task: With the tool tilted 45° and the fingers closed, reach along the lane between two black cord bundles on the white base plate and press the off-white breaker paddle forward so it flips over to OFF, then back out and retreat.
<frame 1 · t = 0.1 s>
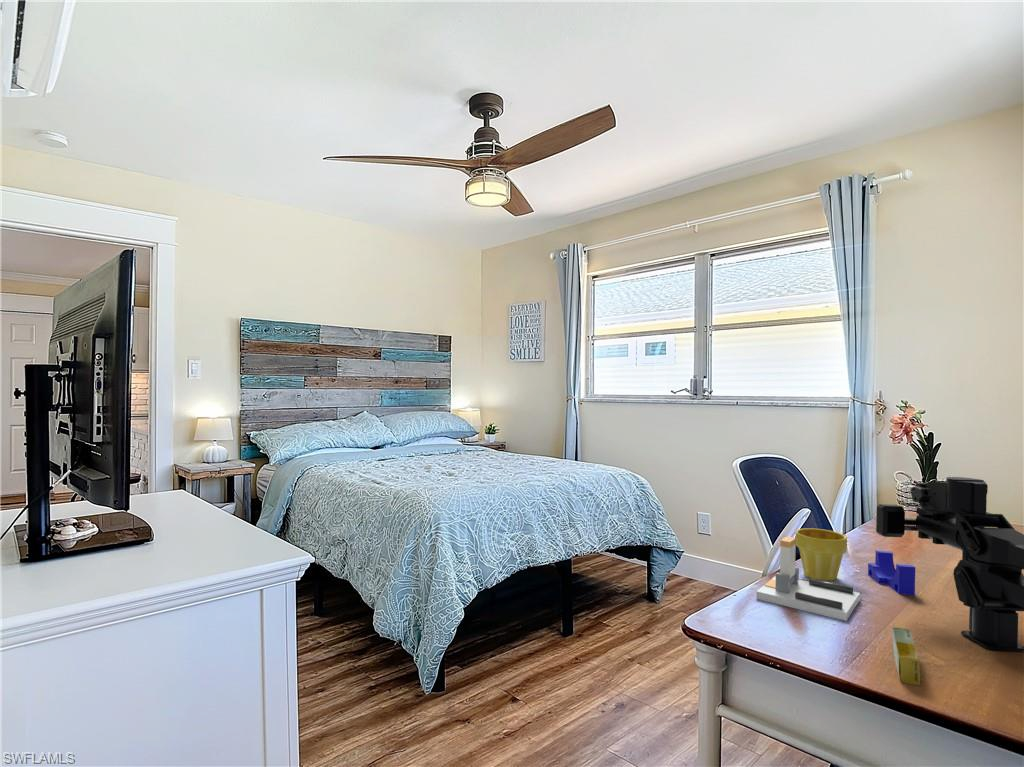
hand: (900, 513, 124), 17 cm above the table, tool horizontal, fingers open, 9 cm apart
plant pot: (820, 577, 132), on the table
cable clip: (890, 586, 127), on the table
medication box: (904, 669, 89), on the table
white base plate: (808, 599, 117), on the table
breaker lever: (787, 561, 119), point 7 cm above the table, hinge at 0.0°
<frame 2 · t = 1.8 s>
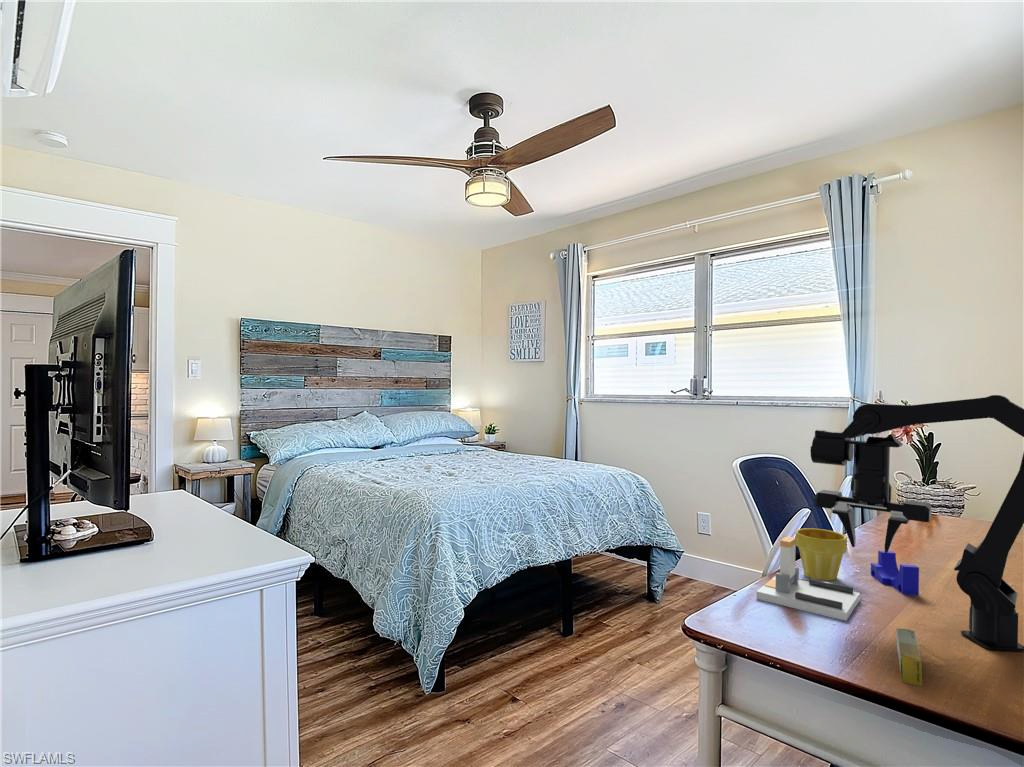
hand: (869, 549, 111), 12 cm above the table, tool pointing down, fingers open, 5 cm apart
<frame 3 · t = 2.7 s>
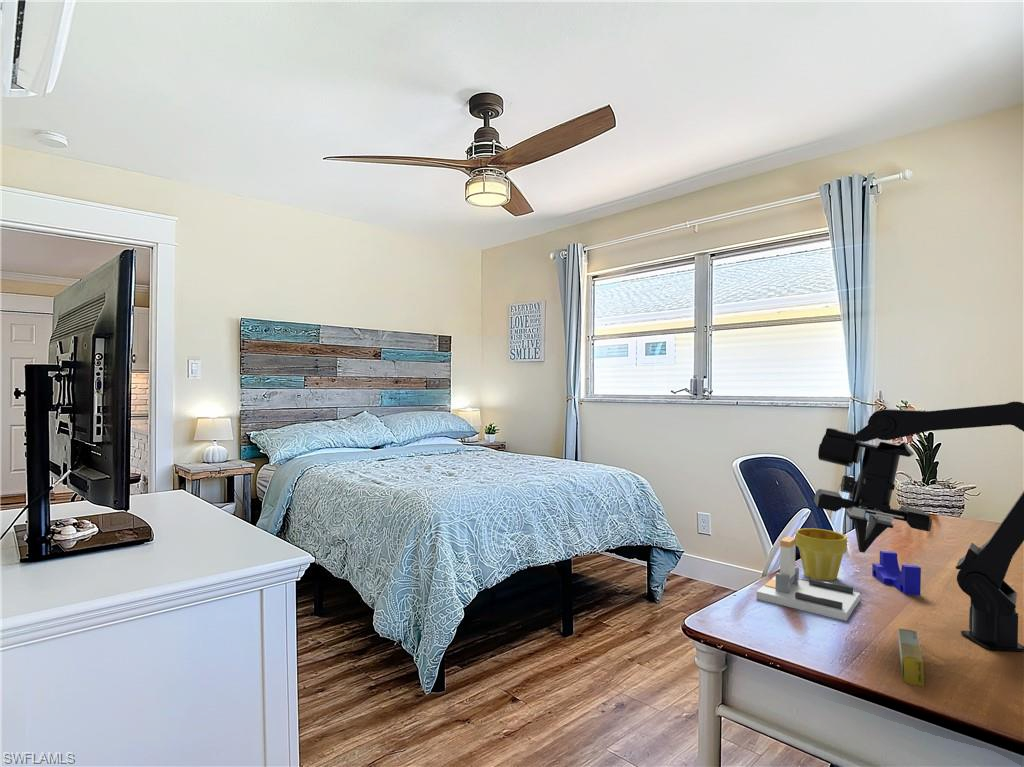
hand: (861, 551, 112), 11 cm above the table, tool pointing down, fingers closed
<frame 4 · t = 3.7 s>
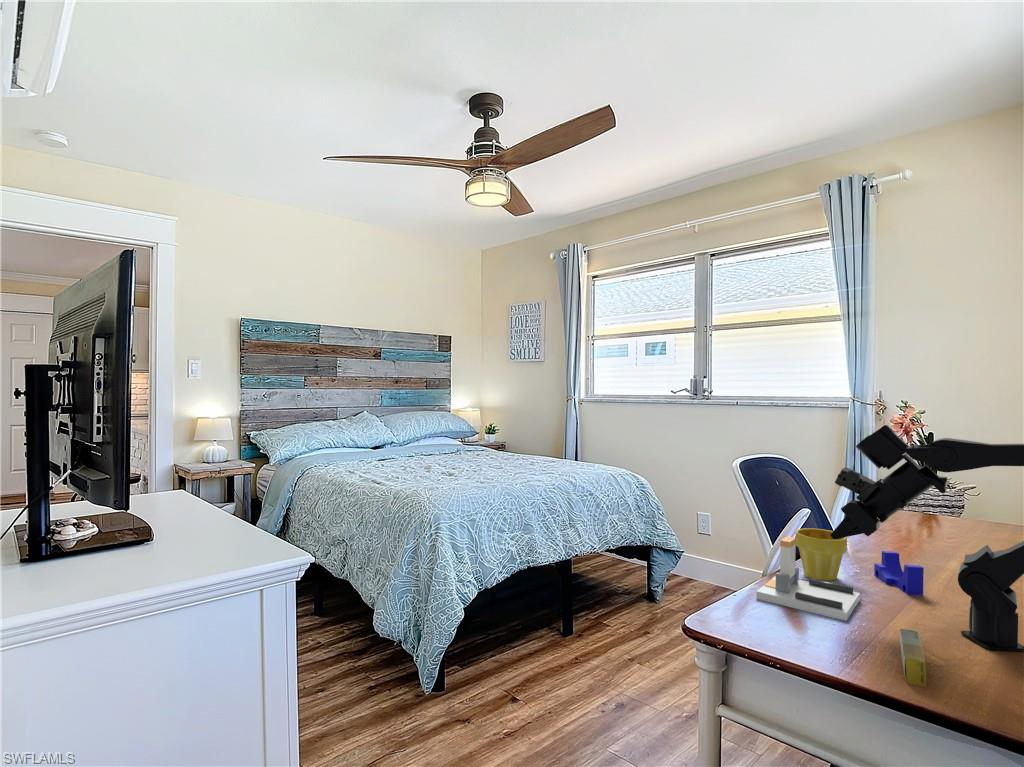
hand: (832, 537, 114), 13 cm above the table, tool tilted 45°, fingers closed
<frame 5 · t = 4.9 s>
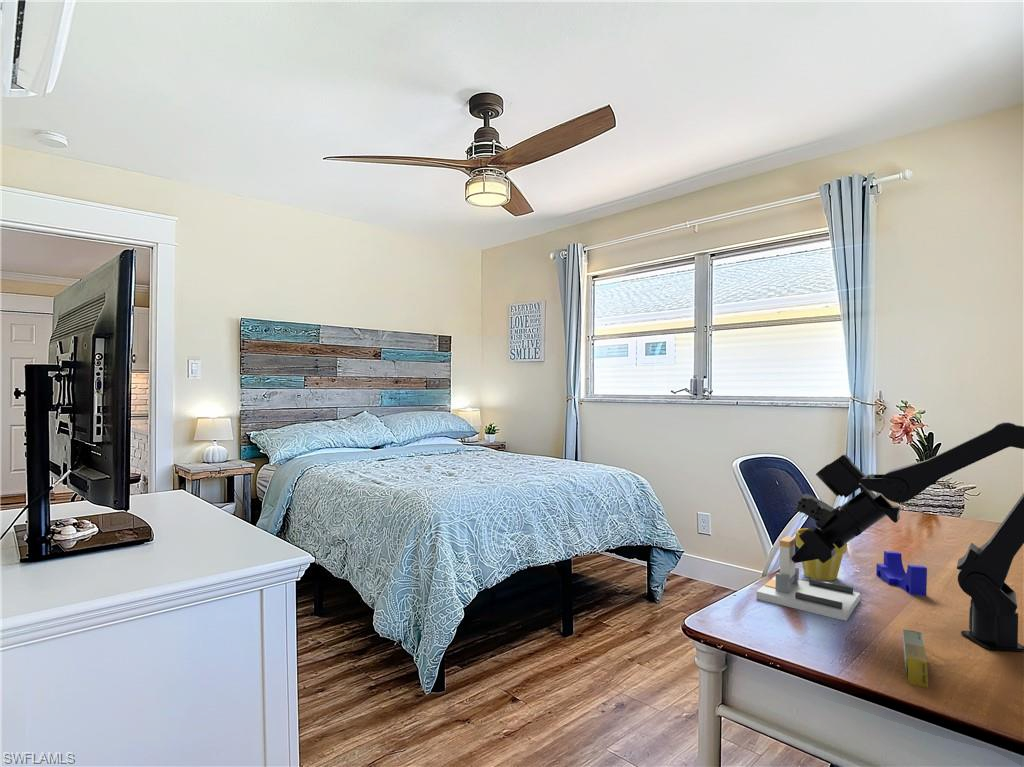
hand: (793, 560, 119), 7 cm above the table, tool tilted 45°, fingers closed, pressing on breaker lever
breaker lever: (787, 561, 119), point 7 cm above the table, hinge at 0.9°, touching gripper
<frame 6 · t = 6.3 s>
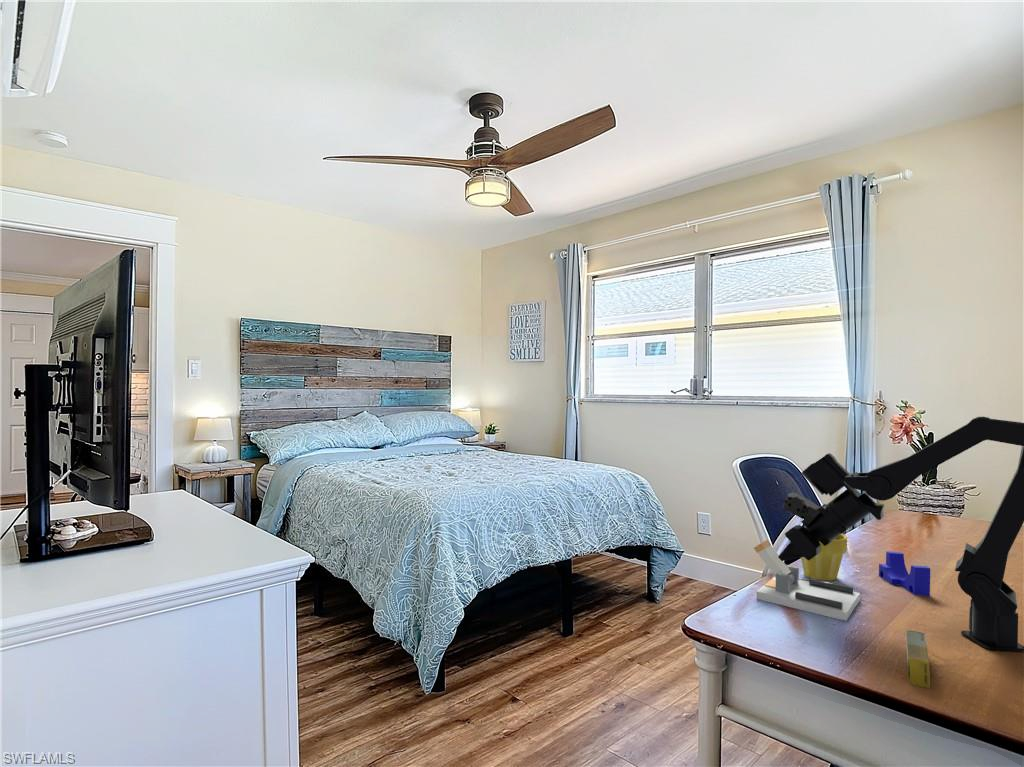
hand: (780, 558, 120), 7 cm above the table, tool tilted 45°, fingers closed
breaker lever: (775, 563, 121), point 6 cm above the table, hinge at 40.2°
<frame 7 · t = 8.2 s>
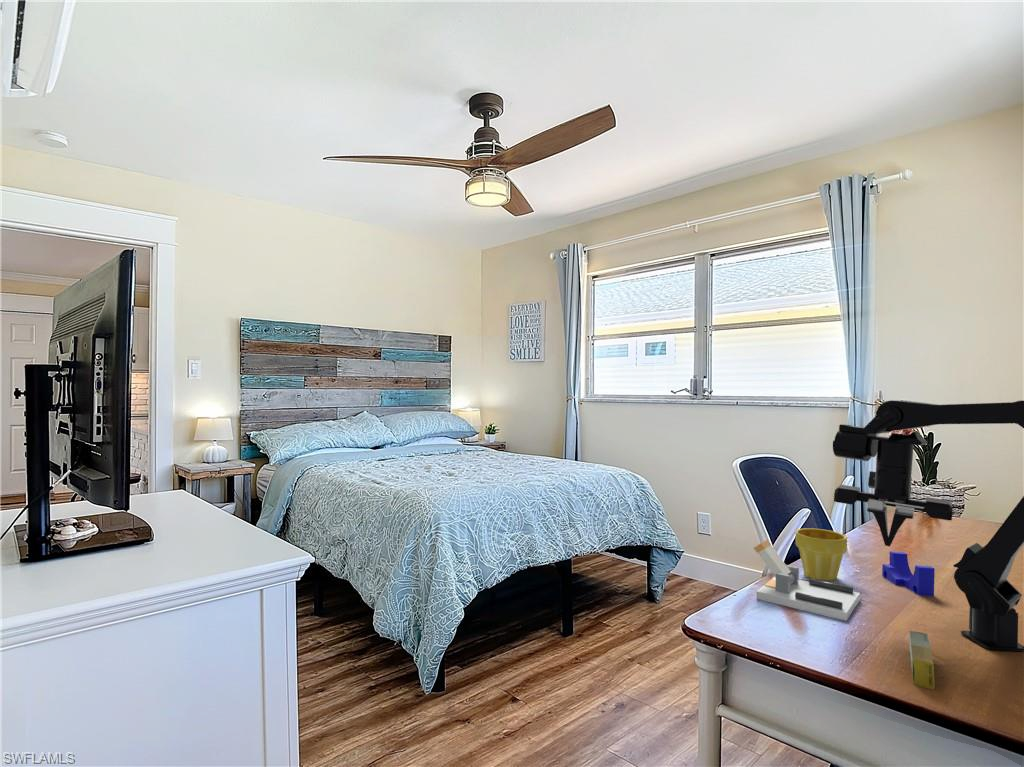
hand: (887, 545, 111), 13 cm above the table, tool pointing down, fingers closed
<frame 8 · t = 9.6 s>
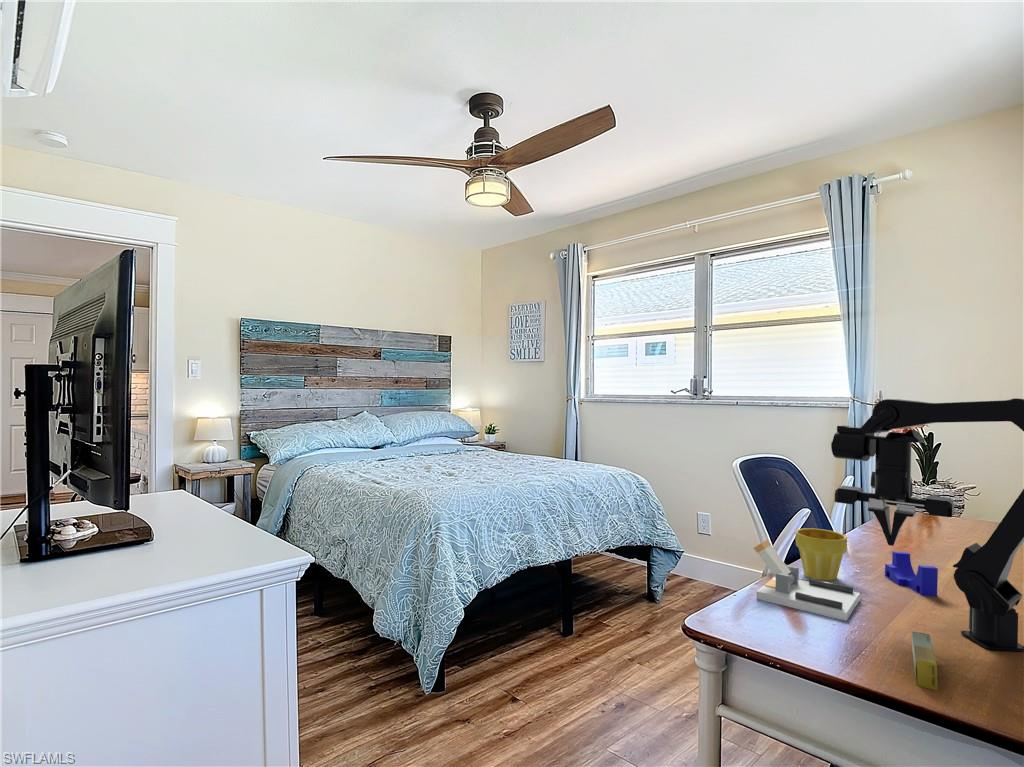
hand: (891, 545, 111), 13 cm above the table, tool pointing down, fingers closed
at the end: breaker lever at +40° (first picture: +0°); the gripper is holding nothing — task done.
